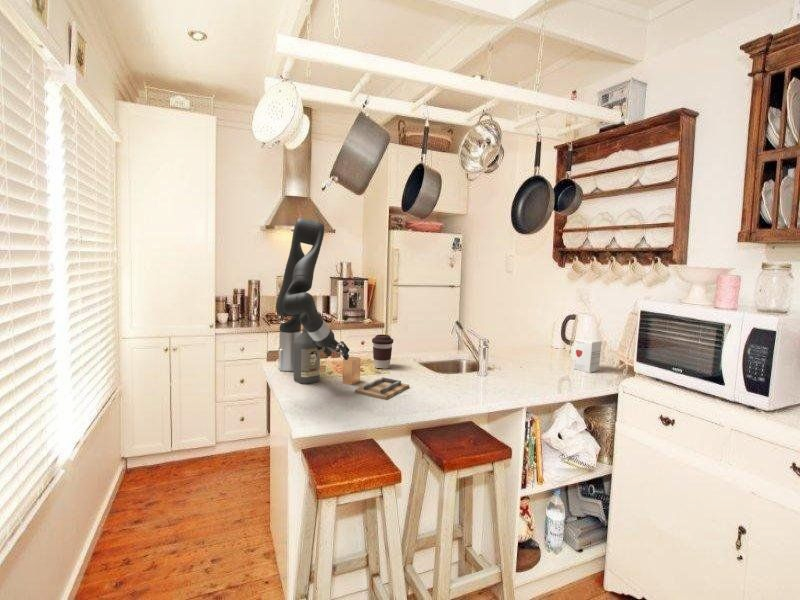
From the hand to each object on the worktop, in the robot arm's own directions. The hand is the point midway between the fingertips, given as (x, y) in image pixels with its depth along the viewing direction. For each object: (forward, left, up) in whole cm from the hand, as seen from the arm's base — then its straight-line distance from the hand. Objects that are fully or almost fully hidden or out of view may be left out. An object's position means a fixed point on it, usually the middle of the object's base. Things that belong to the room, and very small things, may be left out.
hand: (338, 356), depth 174 cm
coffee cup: (+27, +23, -13) cm, 38 cm away
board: (+16, -8, -13) cm, 22 cm away
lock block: (+7, +5, -13) cm, 16 cm away
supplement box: (+123, -6, -13) cm, 124 cm away
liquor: (-10, +12, -13) cm, 21 cm away
